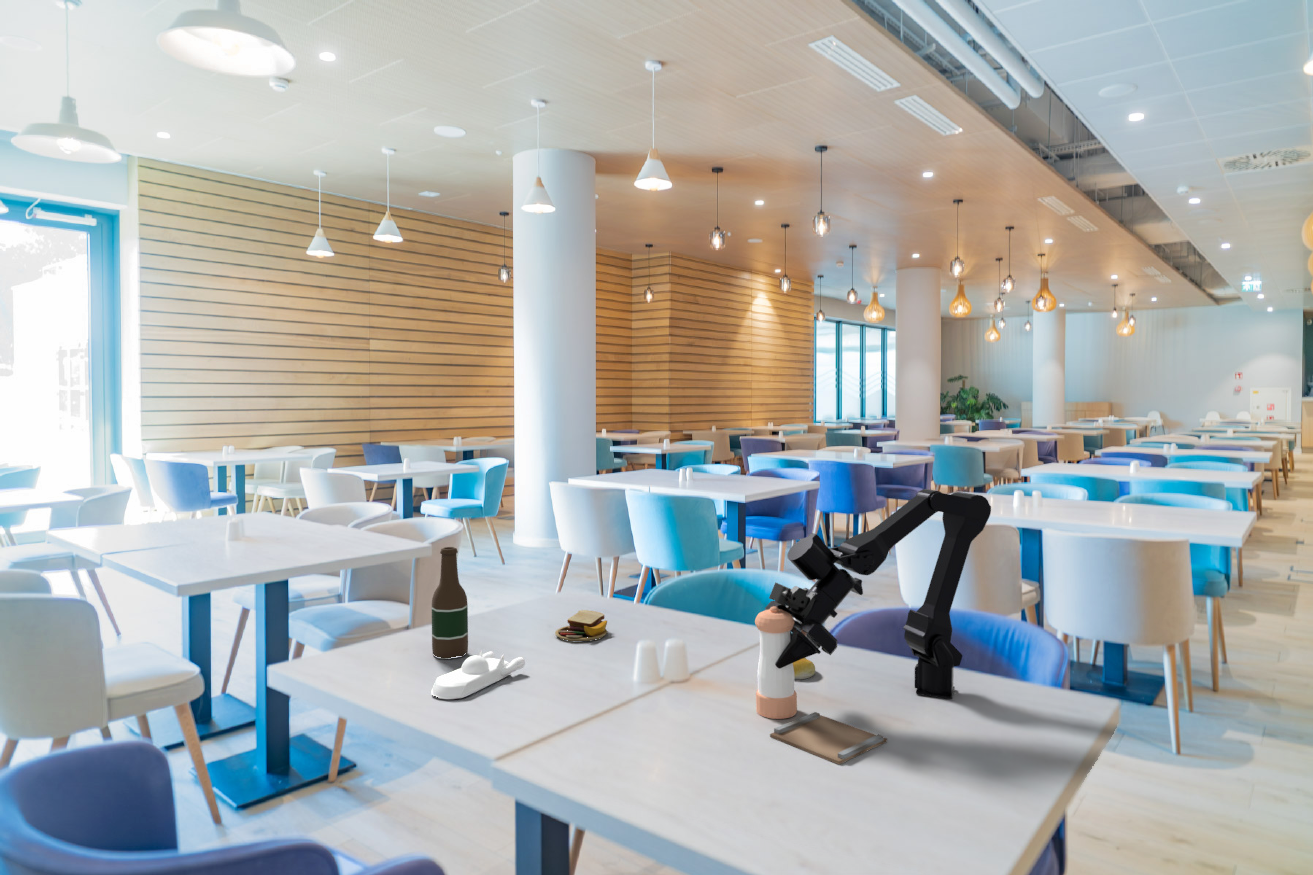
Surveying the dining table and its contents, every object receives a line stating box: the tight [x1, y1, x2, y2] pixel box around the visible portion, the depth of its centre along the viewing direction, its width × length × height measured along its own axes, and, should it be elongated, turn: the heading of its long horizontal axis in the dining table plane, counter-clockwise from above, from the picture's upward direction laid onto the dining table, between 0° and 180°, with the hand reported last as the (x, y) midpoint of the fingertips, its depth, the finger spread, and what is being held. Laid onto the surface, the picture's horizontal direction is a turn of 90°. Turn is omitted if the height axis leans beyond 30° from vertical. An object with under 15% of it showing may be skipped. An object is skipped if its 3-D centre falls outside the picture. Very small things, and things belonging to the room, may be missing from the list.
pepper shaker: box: [754, 606, 798, 720], centre depth 147 cm, size 7×7×19 cm
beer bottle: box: [431, 546, 469, 658], centre depth 182 cm, size 8×8×24 cm
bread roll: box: [793, 657, 816, 680], centre depth 169 cm, size 8×9×4 cm
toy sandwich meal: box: [554, 609, 608, 642], centre depth 197 cm, size 12×14×5 cm
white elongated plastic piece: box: [430, 650, 526, 700], centre depth 163 cm, size 10×20×6 cm, turn 151°
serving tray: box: [769, 711, 888, 765], centre depth 136 cm, size 13×14×1 cm
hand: (769, 661), depth 147 cm, fingers open, 6 cm apart
